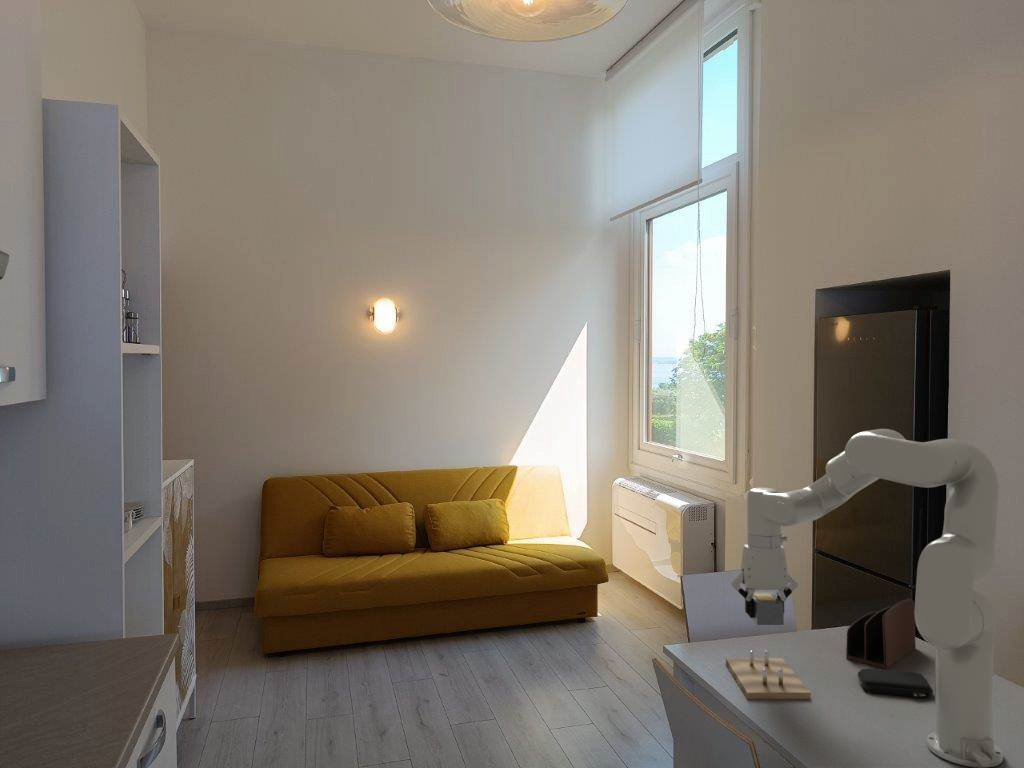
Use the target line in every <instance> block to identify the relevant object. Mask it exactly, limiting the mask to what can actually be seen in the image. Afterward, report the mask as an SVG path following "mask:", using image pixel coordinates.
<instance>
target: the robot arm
mask: <svg viewBox="0 0 1024 768" xmlns="http://www.w3.org/2000/svg"><path fill="white" fill-rule="evenodd" d="M879 479H882V480H886V481H891V482H895V483H898V484H899V483H900V484H905V485H908V486H912V487H919V488H936V487H939V486H944V485H948V486H949V487H948V489H949V490H948V496H947V499H946V502H945V505H944V520H943V527H942V528H943V529H942V534H941V537H939V538H937V539H935V540H933V541H931V542H929V543H928V544H927V545H926V546H925V547H924V549H922V551H921V554H920V555H919V559H918V562H917V569H916V582H915V599H914V600H915V601H914V615H915V627H916V628H917V631H918V632H919V634H920V636H921V637H922V638H923V640H925V641H926V643H928V644H929V645H931V646H932V647H934V648H935V654H934V655H935V657H934V659H935V661H934V662H935V663H934V668H935V669H934V671H935V672H934V676H935V677H934V678H935V679H934V681H935V683H934V685H935V687H934V688H935V690H934V692H935V694H934V699H935V700H934V704H935V709H934V710H935V713H934V714H935V730H934V731H932V732H931V733H929V734H928V735H927V736H926V746H927V747H928V749H929V750H930V751H931V752H932V753H934V754H935V755H936V756H938V757H939V758H941V759H944V760H945V761H948V762H950V763H953V764H956V765H960V766H964V767H971V768H994V767H997V766H999V765H1000V764H1002V762H1003V761H1004V752H1003V751H1002V749H1001V748H1000V747H999V746H998V745H997V744H996V743H995V740H994V653H995V649H994V648H995V643H996V642H995V641H996V636H997V635H996V634H997V625H998V623H997V622H998V616H997V610H996V607H995V604H994V603H993V601H992V600H991V598H990V597H989V596H988V594H985V593H984V592H983V591H982V590H980V589H978V588H976V587H974V586H975V585H976V584H978V583H981V582H982V581H984V580H985V579H987V578H989V576H990V575H991V574H992V573H993V570H994V567H995V556H996V542H997V541H996V540H997V528H998V527H997V525H998V524H997V523H998V522H997V518H998V517H997V516H998V507H999V505H998V503H999V480H998V475H997V471H996V469H995V467H994V465H993V463H992V462H991V460H990V459H989V458H988V456H987V455H986V454H985V453H984V452H983V451H982V450H980V449H979V448H977V447H976V446H974V445H973V444H971V443H969V442H967V441H964V440H960V439H956V438H941V439H935V440H930V441H923V442H921V441H916V440H909V439H906V438H905V437H904V436H903V435H902V434H901V433H900V432H898V431H896V430H893V429H889V428H877V429H871V430H864V431H861V432H858V433H856V434H854V435H853V436H851V438H849V440H848V441H847V443H846V445H845V447H844V450H843V451H842V452H840V453H839V454H837V455H836V456H834V457H833V458H831V459H830V460H828V461H827V463H826V465H825V474H824V475H823V476H822V477H819V479H817V480H816V481H814V482H812V483H810V484H809V485H808V486H806V487H804V488H802V489H801V488H800V489H795V490H792V491H787V492H781V493H780V491H779V490H777V489H775V488H771V487H754V488H751V489H749V490H748V492H747V495H746V499H747V500H746V501H747V502H746V503H747V505H746V508H747V511H746V512H747V514H746V515H747V517H746V518H747V543H746V544H744V545H743V549H742V552H741V553H742V555H741V563H740V565H741V566H740V573H739V575H737V576H736V578H734V579H733V580H732V581H731V583H730V585H731V586H732V587H733V588H734V590H736V591H737V592H738V593H739V595H741V596H742V597H743V598H744V604H745V605H744V611H745V614H747V615H748V617H749V619H752V618H753V617H754V603H753V601H752V597H753V594H754V592H756V590H757V591H759V590H762V591H767V590H768V591H770V590H772V591H773V590H774V591H775V593H776V597H777V598H778V599H779V600H780V601H781V602H782V603H783V607H784V608H785V601H786V600H787V598H788V597H789V596H790V595H791V594H792V593H793V592H794V591H795V590H796V589H797V588H798V587H799V584H798V583H797V582H796V581H795V580H794V578H792V577H791V575H790V574H789V573H788V563H787V556H786V552H785V548H784V546H783V543H784V542H787V541H788V537H787V535H783V534H782V527H793V526H797V525H801V524H805V523H809V522H814V521H816V520H818V519H820V518H822V517H824V516H826V515H827V514H829V513H830V512H832V511H834V510H835V509H837V508H838V507H840V506H842V505H843V504H845V503H846V502H847V501H848V500H849V499H851V498H852V497H853V496H854V495H855V494H858V492H860V491H861V490H863V489H865V488H866V487H868V486H869V485H871V484H873V483H874V482H875V483H876V481H878V480H879ZM741 584H743V585H744V586H745V589H743V587H741V586H740V585H741Z"/></svg>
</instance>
